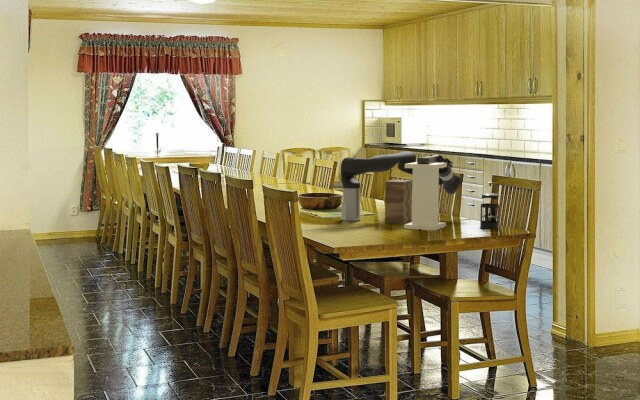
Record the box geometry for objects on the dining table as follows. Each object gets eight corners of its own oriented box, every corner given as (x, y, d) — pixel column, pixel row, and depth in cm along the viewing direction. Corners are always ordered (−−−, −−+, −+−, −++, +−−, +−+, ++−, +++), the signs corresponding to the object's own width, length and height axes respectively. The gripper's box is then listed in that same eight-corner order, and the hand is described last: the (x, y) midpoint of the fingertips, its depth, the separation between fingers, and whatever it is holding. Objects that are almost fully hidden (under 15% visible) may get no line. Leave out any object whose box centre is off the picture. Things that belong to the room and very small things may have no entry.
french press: (495, 230, 406) (495, 183, 404) (476, 229, 411) (477, 182, 408) (502, 227, 416) (503, 181, 414) (484, 226, 421) (485, 180, 418)
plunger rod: (427, 164, 406) (427, 158, 406) (415, 164, 409) (415, 157, 408) (444, 161, 429) (445, 155, 429) (433, 160, 432) (433, 155, 432)
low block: (403, 223, 430) (403, 182, 428) (385, 222, 435) (385, 181, 433) (411, 220, 441) (411, 180, 439) (393, 219, 446) (394, 179, 443)
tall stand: (434, 230, 406) (435, 164, 402) (404, 228, 413) (404, 163, 410) (445, 226, 420) (446, 162, 416) (415, 224, 427) (416, 161, 424)
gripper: (456, 177, 434) (447, 163, 420) (430, 176, 440) (420, 162, 426) (458, 164, 436) (449, 149, 422) (432, 164, 443) (423, 149, 429)
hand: (434, 156), depth 424 cm, fingers open, 4 cm apart
